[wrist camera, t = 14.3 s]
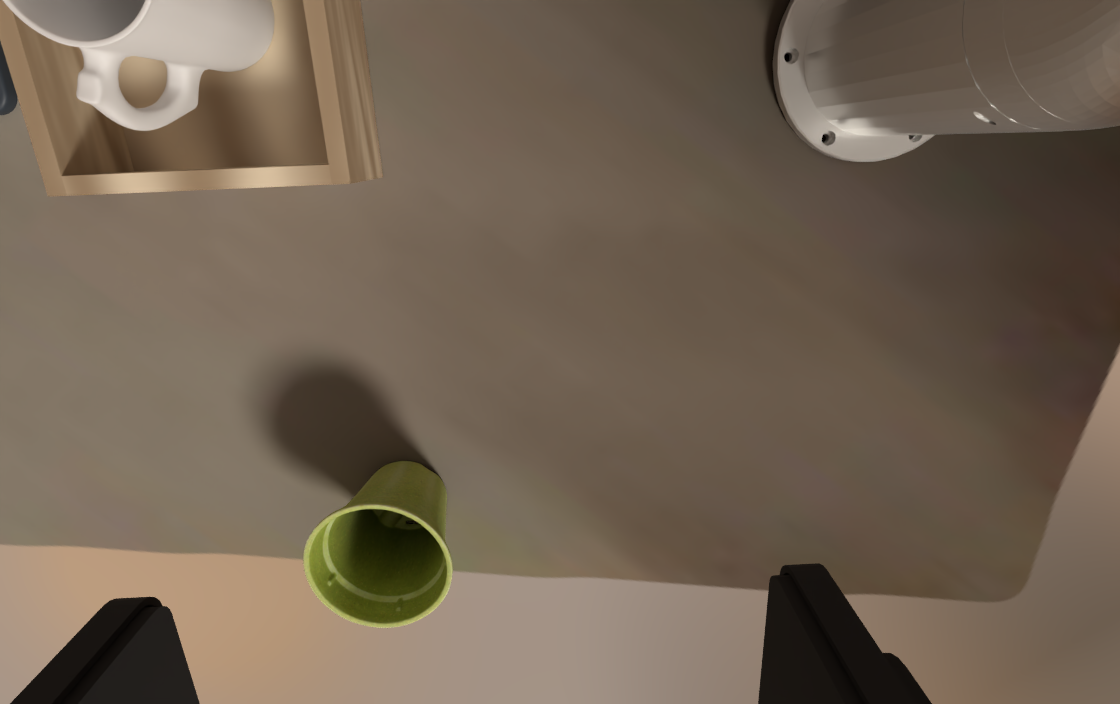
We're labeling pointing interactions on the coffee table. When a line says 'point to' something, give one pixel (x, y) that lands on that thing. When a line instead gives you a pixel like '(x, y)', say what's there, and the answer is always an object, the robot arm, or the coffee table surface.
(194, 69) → the mug
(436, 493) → the plant pot
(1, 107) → the smartphone
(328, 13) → the open wooden crate
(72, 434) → the coffee table surface
